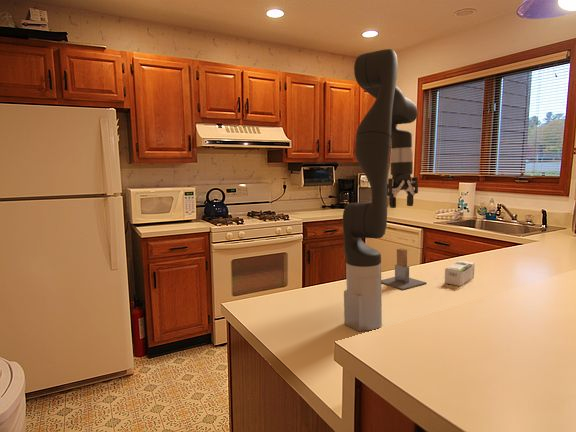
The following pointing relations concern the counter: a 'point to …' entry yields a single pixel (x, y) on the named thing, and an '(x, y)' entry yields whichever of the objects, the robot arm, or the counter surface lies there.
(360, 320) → the robot arm
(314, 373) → the counter surface
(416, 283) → the mat
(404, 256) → the brown piece
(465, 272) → the syrup box
